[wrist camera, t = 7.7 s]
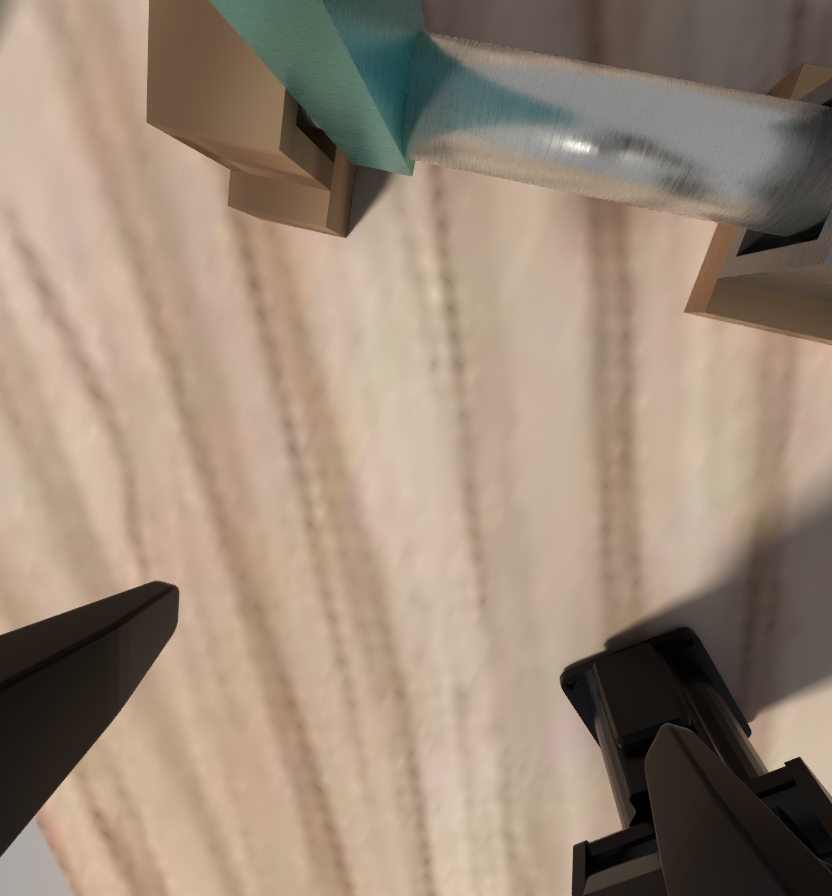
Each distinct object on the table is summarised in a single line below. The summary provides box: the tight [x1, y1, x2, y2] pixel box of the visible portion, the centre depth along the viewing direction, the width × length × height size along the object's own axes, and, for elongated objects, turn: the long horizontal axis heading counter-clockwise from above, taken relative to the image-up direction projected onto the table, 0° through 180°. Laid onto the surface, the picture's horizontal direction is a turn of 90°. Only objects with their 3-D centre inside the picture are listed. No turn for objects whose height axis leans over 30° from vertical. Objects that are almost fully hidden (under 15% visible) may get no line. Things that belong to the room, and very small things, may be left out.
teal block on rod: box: [209, 0, 832, 242], centre depth 10 cm, size 18×3×9 cm, turn 78°
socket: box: [147, 0, 357, 238], centre depth 13 cm, size 4×7×6 cm, turn 168°
